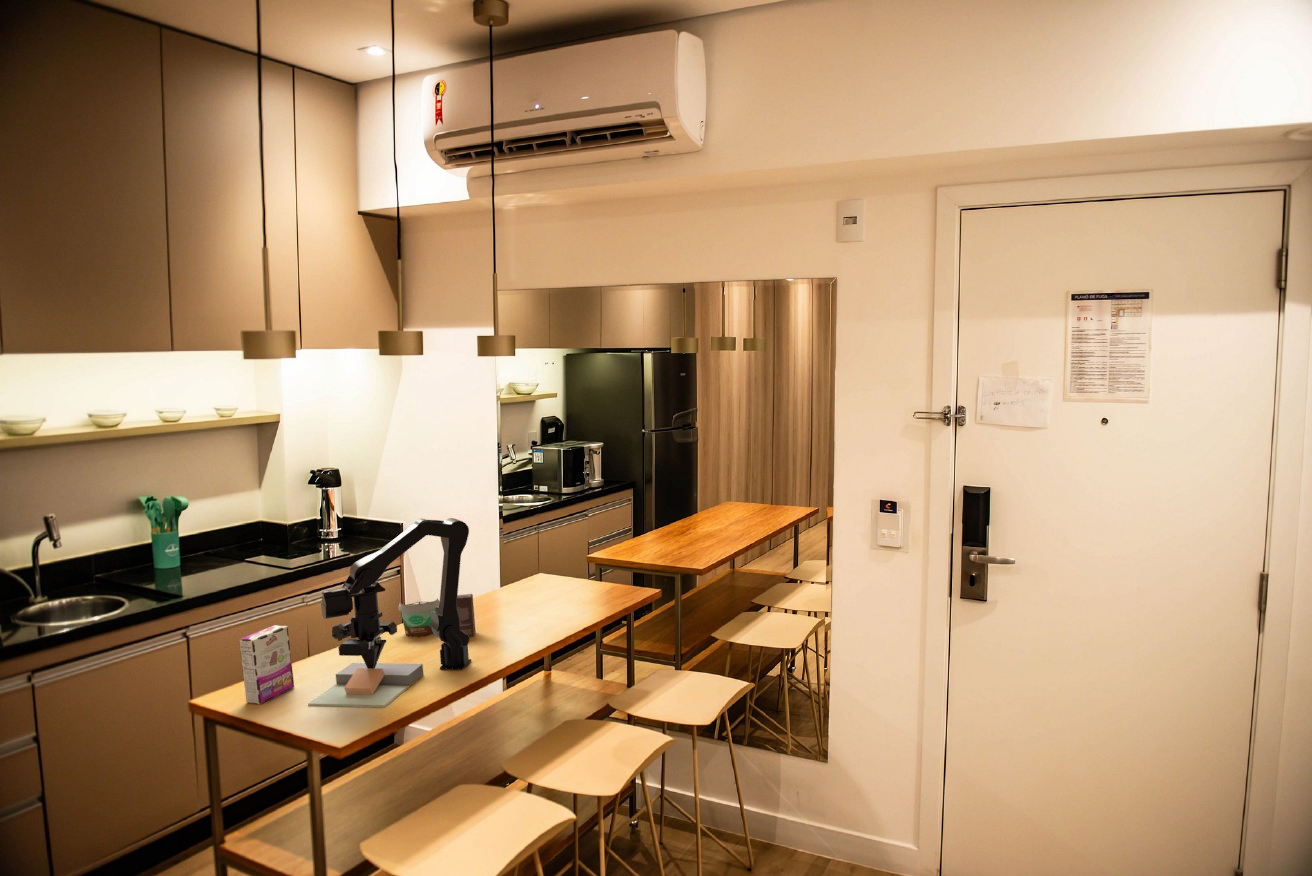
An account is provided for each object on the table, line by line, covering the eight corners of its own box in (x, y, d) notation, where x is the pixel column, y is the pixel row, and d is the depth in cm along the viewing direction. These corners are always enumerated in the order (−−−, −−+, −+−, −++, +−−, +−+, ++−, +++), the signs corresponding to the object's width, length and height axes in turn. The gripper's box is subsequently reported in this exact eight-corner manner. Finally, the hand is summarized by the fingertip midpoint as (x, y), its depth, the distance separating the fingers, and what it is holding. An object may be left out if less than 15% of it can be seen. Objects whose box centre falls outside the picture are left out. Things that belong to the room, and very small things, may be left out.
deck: (423, 675, 217) (422, 663, 217) (409, 686, 209) (408, 675, 209) (353, 674, 221) (352, 663, 220) (336, 685, 213) (335, 674, 213)
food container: (399, 640, 247) (397, 607, 246) (400, 634, 253) (397, 602, 252) (442, 635, 250) (440, 602, 249) (442, 629, 256) (439, 597, 255)
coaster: (384, 674, 210) (382, 668, 209) (372, 694, 204) (370, 688, 203) (359, 674, 212) (357, 668, 211) (346, 694, 205) (344, 688, 205)
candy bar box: (280, 686, 215) (274, 624, 213) (295, 688, 213) (289, 625, 211) (244, 703, 204) (238, 638, 203) (259, 705, 202) (253, 639, 201)
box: (475, 632, 251) (473, 593, 250) (474, 636, 247) (471, 597, 246) (455, 633, 251) (452, 594, 250) (453, 638, 246) (450, 598, 245)
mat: (408, 687, 209) (408, 685, 209) (384, 707, 197) (384, 705, 197) (335, 686, 212) (335, 684, 212) (308, 705, 201) (308, 703, 201)
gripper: (357, 600, 220) (361, 657, 222) (316, 622, 202) (321, 684, 203) (395, 600, 218) (400, 658, 220) (358, 622, 200) (363, 685, 201)
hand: (371, 671), depth 211 cm, fingers closed
